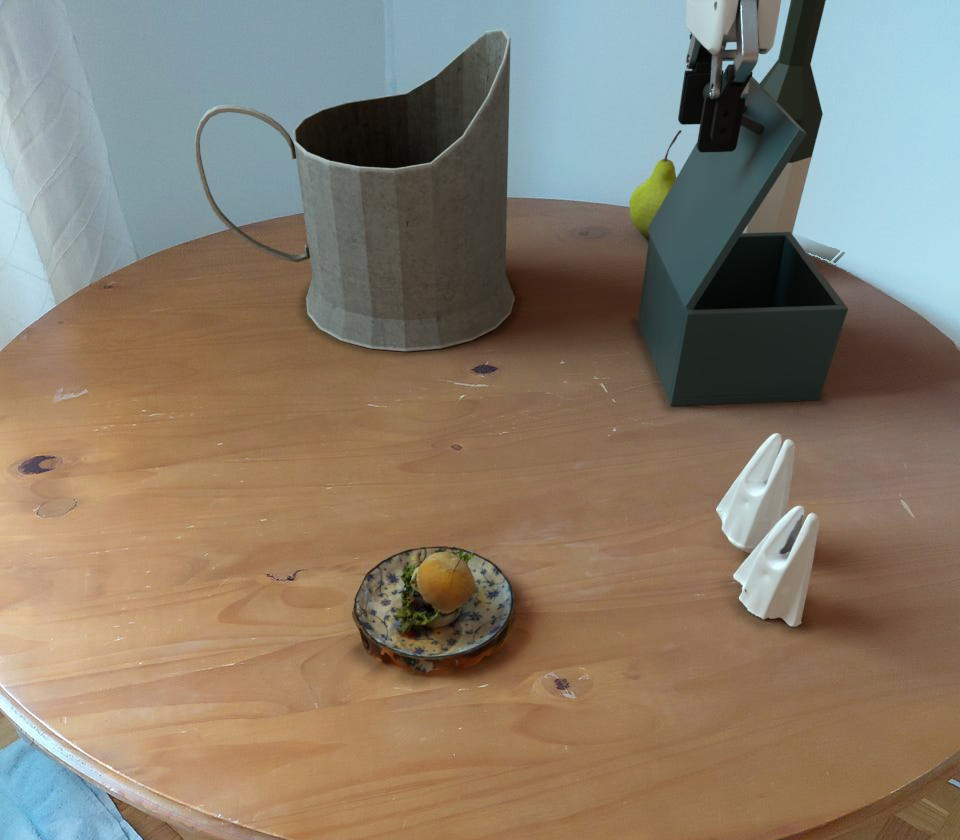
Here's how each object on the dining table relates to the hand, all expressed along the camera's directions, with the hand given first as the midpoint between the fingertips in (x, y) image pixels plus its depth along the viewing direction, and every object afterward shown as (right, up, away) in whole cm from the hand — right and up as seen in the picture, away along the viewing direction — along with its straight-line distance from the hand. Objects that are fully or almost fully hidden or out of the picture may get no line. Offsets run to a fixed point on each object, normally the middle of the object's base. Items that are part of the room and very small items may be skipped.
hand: (705, 134), depth 75 cm
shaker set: (+2, -38, -6) cm, 38 cm away
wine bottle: (+13, +2, +31) cm, 34 cm away
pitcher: (-31, -5, +24) cm, 40 cm away
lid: (+2, -3, +3) cm, 5 cm away
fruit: (+3, +8, +36) cm, 37 cm away
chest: (+6, -14, +16) cm, 22 cm away
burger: (-23, -41, -10) cm, 48 cm away
